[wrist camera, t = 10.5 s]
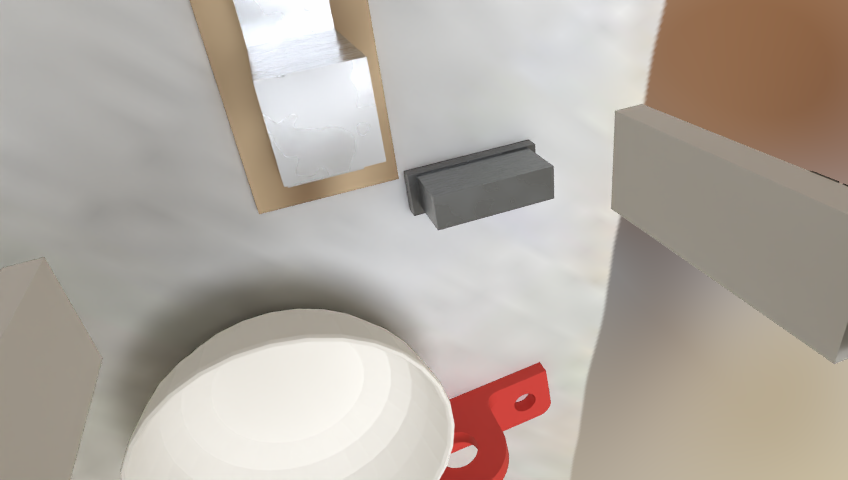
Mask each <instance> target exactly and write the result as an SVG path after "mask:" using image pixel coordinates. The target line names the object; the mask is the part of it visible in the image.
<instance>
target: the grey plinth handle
mask: <svg viewBox="0 0 848 480" xmlns="http://www.w3.org/2000/svg"><path fill="white" fill-rule="evenodd" d="M404 174H405V180H406V186H407V192H408V198H409V204H410V210H411V212H412V213H413V215H414V216H416V215H420V214H423V213H426V214H427V215H428V217H429V218H430V220H431V221H432V223H433V224H434V225H435V227H436V228H437V230H441V229H445V228H448V227H452V226H456V225H459V224H463V223H467V222H470V221H474V220H477V219H481V218H485V217H488V216H492V215H496V214H499V213H503V212H506V211H510V210H514V209H517V208H521V207H525V206H528V205H532V204H535V203H539V202H543V201H546V200H550V199H554V167H553V165H551V164H550V163H548V162H547V161H546V160H544V159H543V158H541V157H540V156H539V155H537V154H536V153H535V144H534V143H533V142H531V141H530V140H526V141H522V142H518V143H515V144H511V145H507V146H503V147H499V148H495V149H491V150H487V151H483V152H479V153H475V154H471V155H467V156H463V157H459V158H455V159H451V160H447V161H443V162H439V163H435V164H431V165H427V166H423V167H419V168H415V169H411V170H407V171H404Z"/></svg>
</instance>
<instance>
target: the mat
mask: <svg viewBox="0 0 848 480" xmlns="http://www.w3.org/2000/svg"><path fill="white" fill-rule="evenodd" d="M190 3H191V6H192V9H193V12H194V15H195V18H196V21H197V25H198V28H199V31H200V34H201V37H202V40H203V43H204V46H205V49H206V52H207V55H208V58H209V61H210V65H211V68H212V71H213V74H214V77H215V80H216V83H217V86H218V89H219V92H220V95H221V98H222V101H223V105H224V108H225V111H226V114H227V117H228V120H229V123H230V126H231V129H232V132H233V135H234V138H235V141H236V145H237V148H238V151H239V154H240V157H241V160H242V163H243V166H244V169H245V172H246V175H247V178H248V181H249V185H250V188H251V191H252V194H253V197H254V200H255V203H256V206H257V209H258V212H259V214H262V213H266V212H270V211H274V210H278V209H282V208H285V207H289V206H293V205H297V204H301V203H305V202H309V201H313V200H317V199H321V198H325V197H329V196H333V195H337V194H341V193H345V192H348V191H352V190H356V189H360V188H364V187H368V186H372V185H376V184H380V183H384V182H388V181H392V180H396V179H399V177H398V172H397V166H396V160H395V154H394V149H393V143H392V137H391V131H390V126H389V120H388V114H387V108H386V103H385V97H384V91H383V85H382V80H381V74H380V68H379V62H378V57H377V51H376V45H375V39H374V34H373V28H372V22H371V16H370V11H369V5H368V0H329V4H330V9H331V14H332V19H333V23H334V28H335V29H336V30H337V31H338V32H339V33H340V34H341V35H343V36H344V37H345V38H346V39H347V40H348V41H349V42H350V43H352V44H353V45H354V46H355V47H356V48H357V49H358V50H359V51H361V52H362V53H363V54H364V55H365V56H366V57H367V61H368V67H369V72H370V77H371V83H372V88H373V93H374V99H375V104H376V109H377V114H378V120H379V125H380V130H381V136H382V141H383V146H384V152H385V157H386V162H382V163H378V164H374V165H370V166H366V167H364V169H361V170H357V171H353V172H349V173H345V174H341V175H337V176H333V177H329V178H325V179H321V180H317V181H313V182H309V183H305V184H301V185H298V186H294V187H290V188H288V186H286V187H284V185H283V182H282V178H281V175H280V172H279V168H278V165H277V161H276V158H275V155H274V151H273V148H272V145H271V141H270V138H269V134H268V131H267V128H266V124H265V121H264V118H263V114H262V111H261V107H260V104H259V101H258V97H257V94H256V91H255V87H254V84H253V80H252V74H251V69H250V63H249V57H248V52H247V46H246V43H245V39H244V36H243V33H242V29H241V26H240V22H239V19H238V16H237V12H236V9H235V5H234V2H233V0H190Z"/></svg>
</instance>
